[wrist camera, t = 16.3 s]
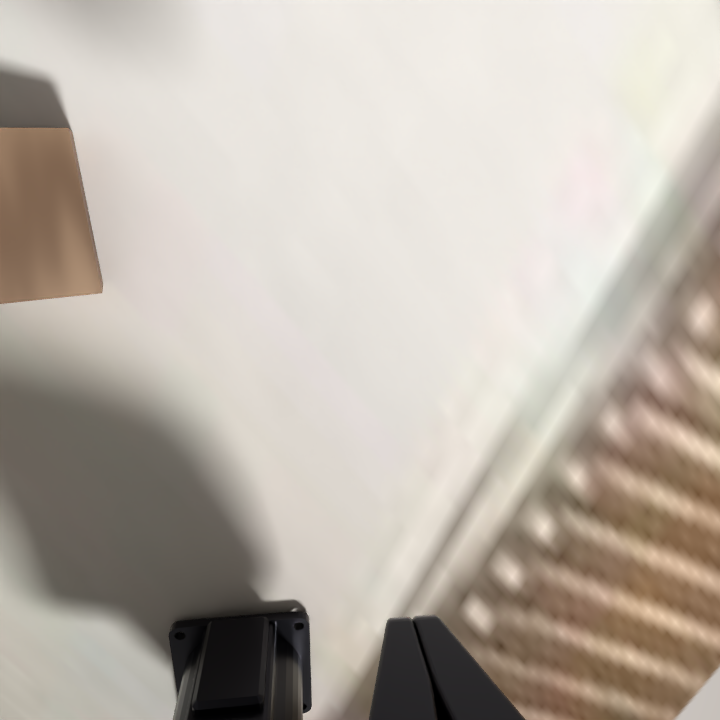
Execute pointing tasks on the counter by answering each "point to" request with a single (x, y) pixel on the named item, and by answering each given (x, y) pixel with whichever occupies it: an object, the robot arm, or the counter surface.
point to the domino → (44, 218)
